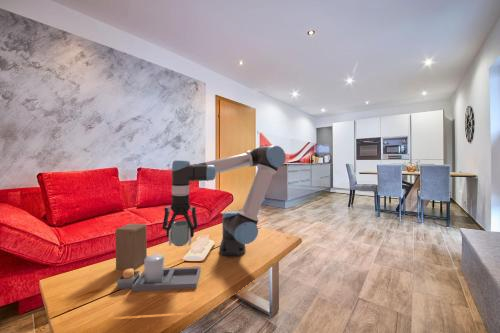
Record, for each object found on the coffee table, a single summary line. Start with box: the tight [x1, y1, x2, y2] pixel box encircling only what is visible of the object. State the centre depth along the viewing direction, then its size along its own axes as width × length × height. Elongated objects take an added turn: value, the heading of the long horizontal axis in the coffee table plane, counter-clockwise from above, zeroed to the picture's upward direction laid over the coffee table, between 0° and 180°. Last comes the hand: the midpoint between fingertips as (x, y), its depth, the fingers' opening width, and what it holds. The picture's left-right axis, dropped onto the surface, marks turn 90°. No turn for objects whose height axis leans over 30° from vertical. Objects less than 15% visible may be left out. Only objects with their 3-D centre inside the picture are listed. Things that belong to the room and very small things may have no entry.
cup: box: [171, 220, 190, 247], centre depth 96 cm, size 8×8×10 cm
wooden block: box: [115, 222, 148, 271], centre depth 104 cm, size 10×10×20 cm
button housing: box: [116, 270, 140, 290], centre depth 88 cm, size 6×6×4 cm
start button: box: [122, 268, 135, 278], centre depth 88 cm, size 4×4×4 cm
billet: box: [143, 253, 165, 284], centre depth 91 cm, size 8×8×10 cm
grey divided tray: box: [131, 266, 202, 293], centre depth 91 cm, size 25×14×3 cm, turn 96°
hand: (180, 244), depth 96 cm, fingers closed on cup, 8 cm apart
